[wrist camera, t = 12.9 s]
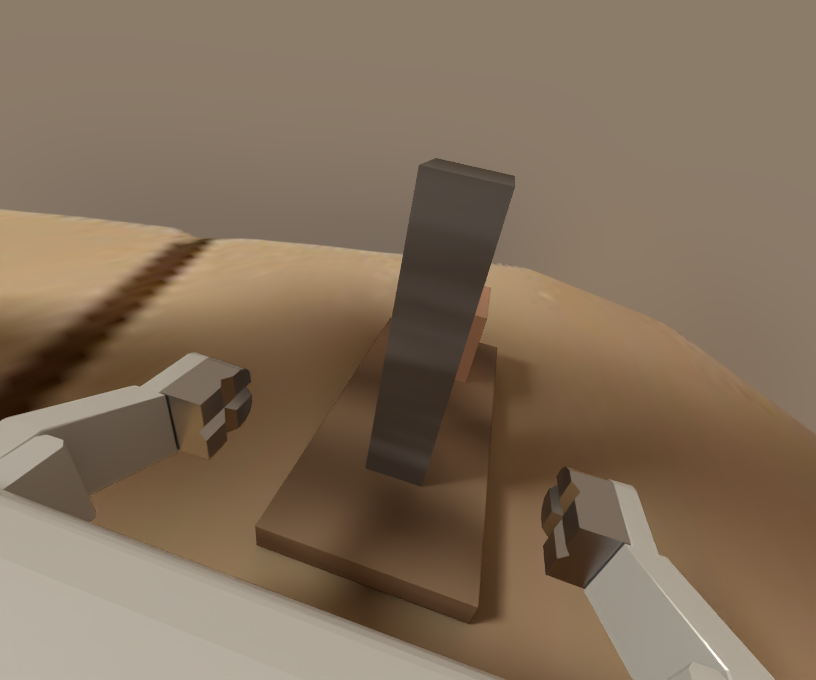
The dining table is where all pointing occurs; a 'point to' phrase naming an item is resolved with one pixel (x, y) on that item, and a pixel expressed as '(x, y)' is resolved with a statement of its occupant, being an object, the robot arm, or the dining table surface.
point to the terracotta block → (474, 336)
